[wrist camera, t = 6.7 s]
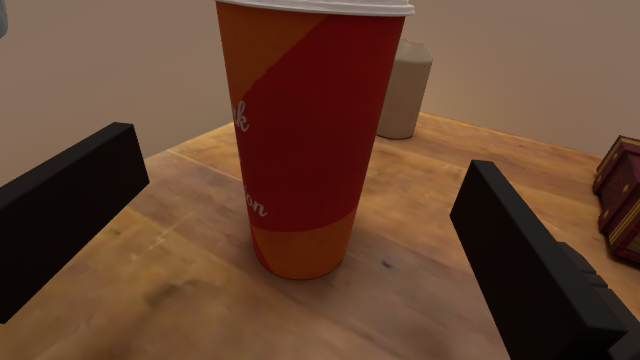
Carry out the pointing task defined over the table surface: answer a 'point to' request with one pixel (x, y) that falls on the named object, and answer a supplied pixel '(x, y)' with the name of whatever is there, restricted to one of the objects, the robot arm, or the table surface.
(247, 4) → the coffee cup
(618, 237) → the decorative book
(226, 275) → the table surface
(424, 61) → the candle
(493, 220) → the robot arm
